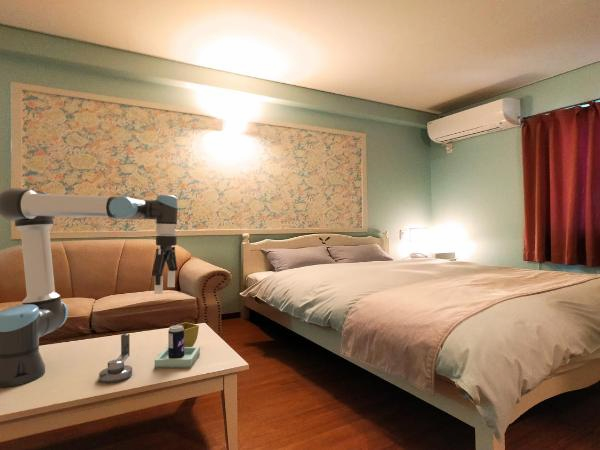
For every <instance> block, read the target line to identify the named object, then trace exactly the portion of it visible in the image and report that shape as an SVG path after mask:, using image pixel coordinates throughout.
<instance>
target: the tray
mask: <svg viewBox="0 0 600 450" xmlns="http://www.w3.org/2000/svg"><path fill="white" fill-rule="evenodd" d="M200 355H201V347H200V346H192V347H184V357H182V358H173V359H170V358H169V357H168V347H165V349H164V350H163V351H161V352H160V354H159V355H157V357H156V358H155V359H154V369H191V368H192V367H193V366H194V364H195V363H196V361H197V360H198V358H199V357H200Z"/></svg>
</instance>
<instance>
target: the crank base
mask: <svg viewBox="0 0 600 450" xmlns="http://www.w3.org/2000/svg"><path fill="white" fill-rule="evenodd" d="M132 376H133V367H132V366H130V365H127V364H124V371H122V372H120V373H116V374H109V373H108V367H106V368H104V369H102V370H100V372H99V373H98V381H99V382H100V383H101V384H107V385H108V384H117V383H121V382H124V381H126V380H129V379H130V378H131V377H132Z"/></svg>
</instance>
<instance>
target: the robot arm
mask: <svg viewBox="0 0 600 450" xmlns="http://www.w3.org/2000/svg"><path fill="white" fill-rule="evenodd" d="M178 209H179V207H178V197H177V196H175V195H170V194H158V195H157V196H156V199H149V200H148V199H140V198H139V199H138V198H134V197H130V196H125V195H123V196H122V195H120V196H106V195H105V196H104V195H84V194H83V195H80V194H77V195H75V194H58V193H57V194H56V193H55V194H54V193H47V192H43V191H40V190H33V189H25V188H20V187H10V188H5V189H4V190H2V191H0V217H1V218H3V219H5V220H8V221H12V222H14V228H15V229H17V230H18V231H19V232H20V235H21V237H20V239H21V249H22V257H23V267H24V268H23V269H24V279H25V289H26V297H25V298H24V299H23V300H22V301H21V303H22V304H19V305H15V306H9V307H6V308H5V309H2V310H0V388H9V387H15V386H21V385H24V384H27V383H29V382H32V381H35V380H38V379H39V378H41V377H42V376H44V375H45V373H46V364H45V363H44V360H43V358H42V356H41V355H42V354H41V353H40V338H41V337H45V335H47V334H50V333H53V332H55V331H57V330H58V329H59V328H61V327H63V325H64V324H65V322H66V321H67V319H68V316H69V309H68V307H67V304H66V303H64V301H63V300H61V299H62V298H61V294H59V293H58V292H56V287H55V278H54V265H53V255H52V246H51V233H50V229H51V228H53V227H54V219H55V218H56V217H61V218H62V217H63V218H64V217H65V218H66V217H69V218H100V219H120V220H135V221H136V220H153V221H154V220H156V223H155V224H156V225H155V234H156V236H155V246H159V247H160V248H156V251H155V258H154V263H153V268H152V272H151V276H152V277H154V288H153V289H154V291H153V293H154V294H155V295H156V294H157V295H160V294H161V295H162V294H163V290H164V289H163V288H164V283H163V282H164V275H163V272H164V270H165V265H167V269H168V270H167V288H175V287H176V271H178V263H177V256H176V247H175V246H176V245H178V243H177V240H178V239H177V238H178V236H176V235H177V234H178V232H177V231H178V229H179V227H178V225H177V224H178Z"/></svg>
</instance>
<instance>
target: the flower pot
mask: <svg viewBox="0 0 600 450" xmlns="http://www.w3.org/2000/svg"><path fill="white" fill-rule="evenodd" d="M177 325H182V326H183V328H184V347H194V345H195V343H196V342H197V338H198V335H199V328H200V325H199V324H195V323H190V322H182V323H177ZM170 327H171V326H169V329H170Z"/></svg>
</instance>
